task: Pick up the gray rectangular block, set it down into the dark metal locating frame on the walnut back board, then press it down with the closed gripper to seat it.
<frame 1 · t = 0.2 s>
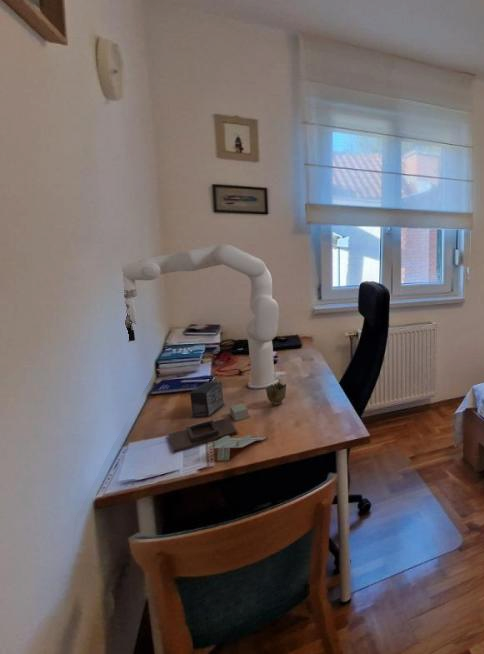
hand: (128, 338, 158), 31 cm above the table, tool pointing down, fingers open, 9 cm apart
gray rectangular block: (239, 415, 162), on the table
mounting board: (203, 435, 147), on the table
metal bracket: (234, 449, 139), on the table
cup: (277, 404, 172), on the table
small box: (208, 411, 166), on the table
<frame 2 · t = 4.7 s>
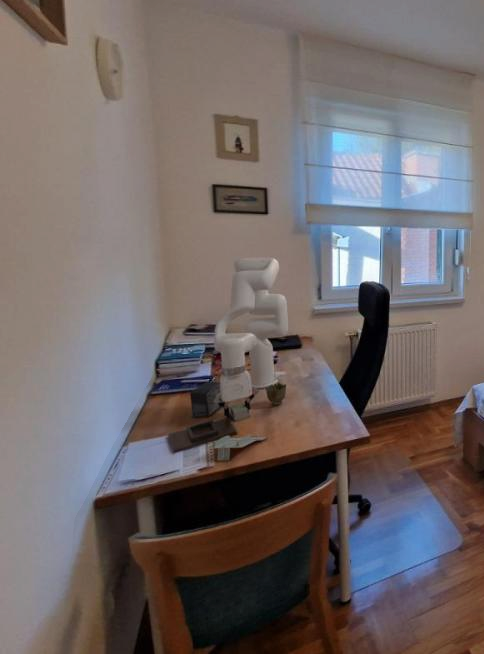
hand: (237, 413, 161), 1 cm above the table, tool pointing down, fingers open, 5 cm apart
nothing on the table moved.
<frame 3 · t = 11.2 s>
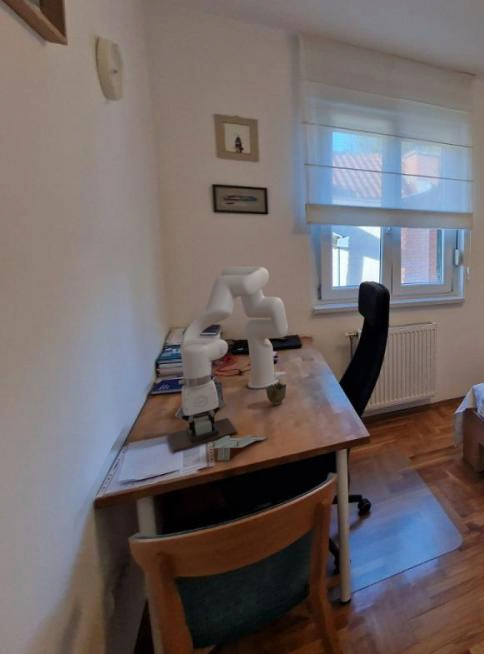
hand: (202, 428, 147), 3 cm above the table, tool pointing down, fingers closed on gray rectangular block, 4 cm apart
gray rectangular block: (202, 430, 147), point 2 cm above the table, touching gripper
everything else where it was.
when the fingers open (3 cm above the table, at t = 13.9 s): gray rectangular block stays where it is, resting on mounting board.
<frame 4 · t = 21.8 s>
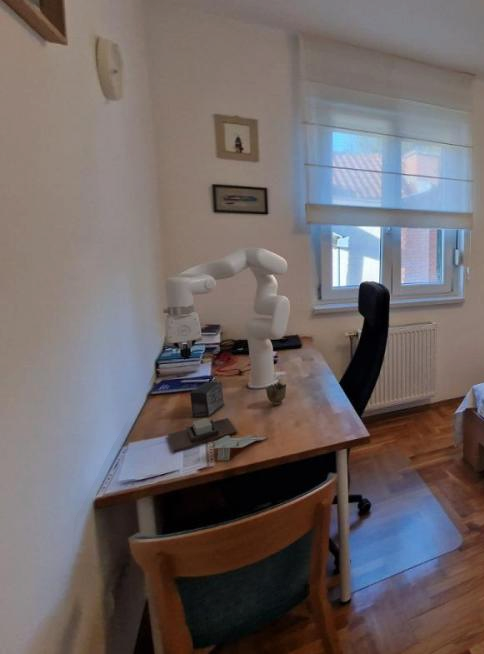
hand: (186, 358, 154), 25 cm above the table, tool pointing down, fingers closed
gray rectangular block: (202, 432, 148), point 1 cm above the table, touching mounting board
everything else where it was.
at the end: gray rectangular block 0.4 cm off-centre on the mounting board, point 1.0 cm above the mounting board's base; gray rectangular block tilted 0°; the gripper is holding nothing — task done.
